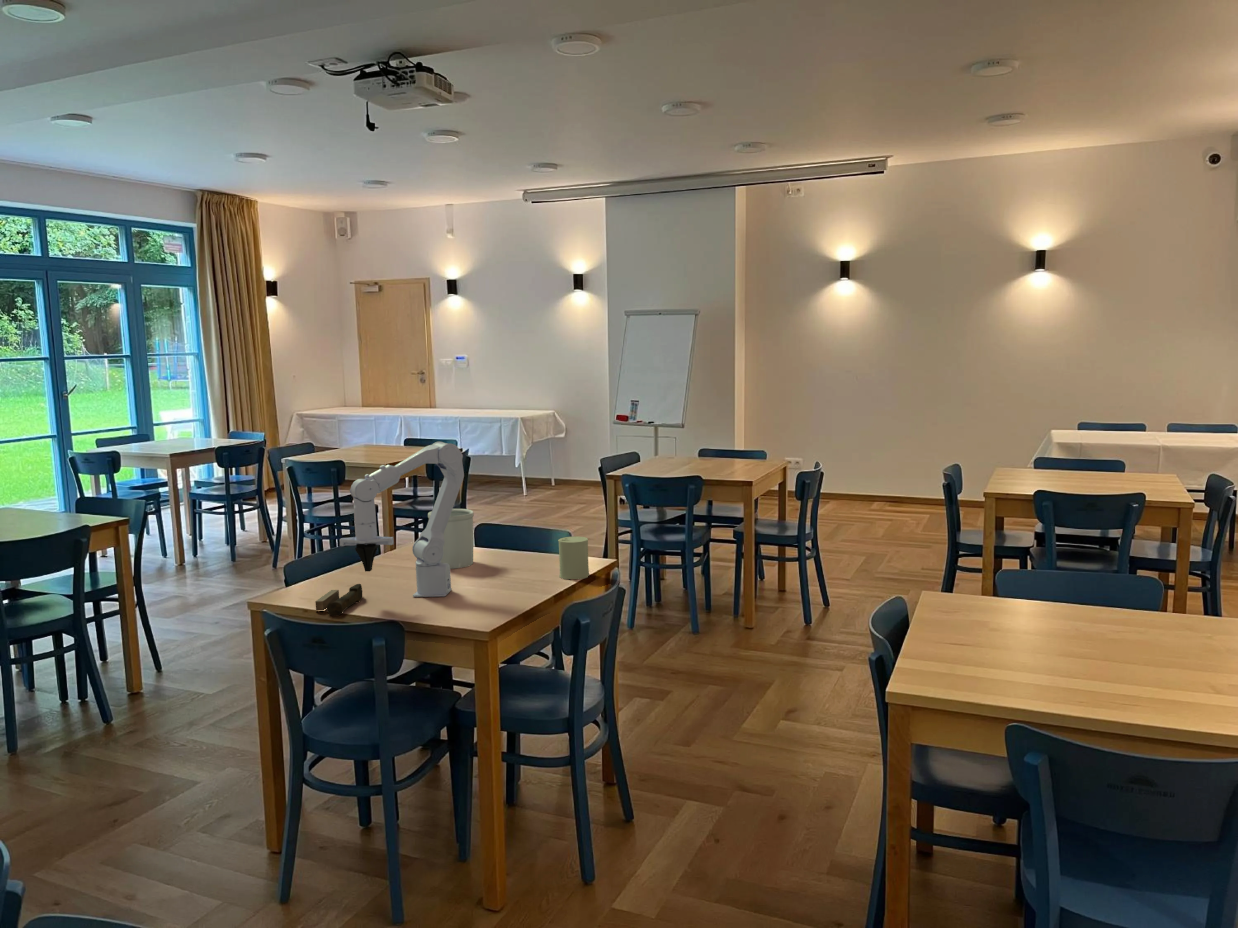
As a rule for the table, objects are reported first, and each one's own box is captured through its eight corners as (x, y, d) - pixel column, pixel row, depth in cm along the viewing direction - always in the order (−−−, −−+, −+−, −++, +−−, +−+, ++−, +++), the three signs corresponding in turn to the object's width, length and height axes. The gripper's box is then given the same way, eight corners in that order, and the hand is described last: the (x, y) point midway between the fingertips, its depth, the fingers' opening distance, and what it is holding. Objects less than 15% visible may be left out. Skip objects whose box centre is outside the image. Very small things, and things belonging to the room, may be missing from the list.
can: (556, 574, 278) (554, 536, 277) (584, 571, 281) (583, 533, 280) (563, 580, 270) (562, 541, 268) (592, 577, 272) (591, 539, 271)
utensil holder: (478, 558, 303) (476, 507, 301) (472, 568, 288) (470, 515, 286) (434, 560, 303) (432, 508, 301) (426, 570, 288) (424, 516, 286)
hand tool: (341, 616, 238) (340, 599, 238) (327, 616, 239) (326, 599, 238) (371, 598, 257) (370, 582, 256) (358, 597, 257) (357, 582, 257)
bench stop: (339, 600, 254) (338, 589, 254) (323, 612, 242) (322, 601, 242) (332, 600, 254) (331, 589, 254) (316, 612, 242) (315, 601, 242)
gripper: (334, 525, 243) (337, 574, 245) (387, 524, 243) (390, 573, 245) (343, 521, 250) (346, 568, 252) (394, 519, 250) (397, 567, 252)
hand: (368, 570), depth 249 cm, fingers closed
